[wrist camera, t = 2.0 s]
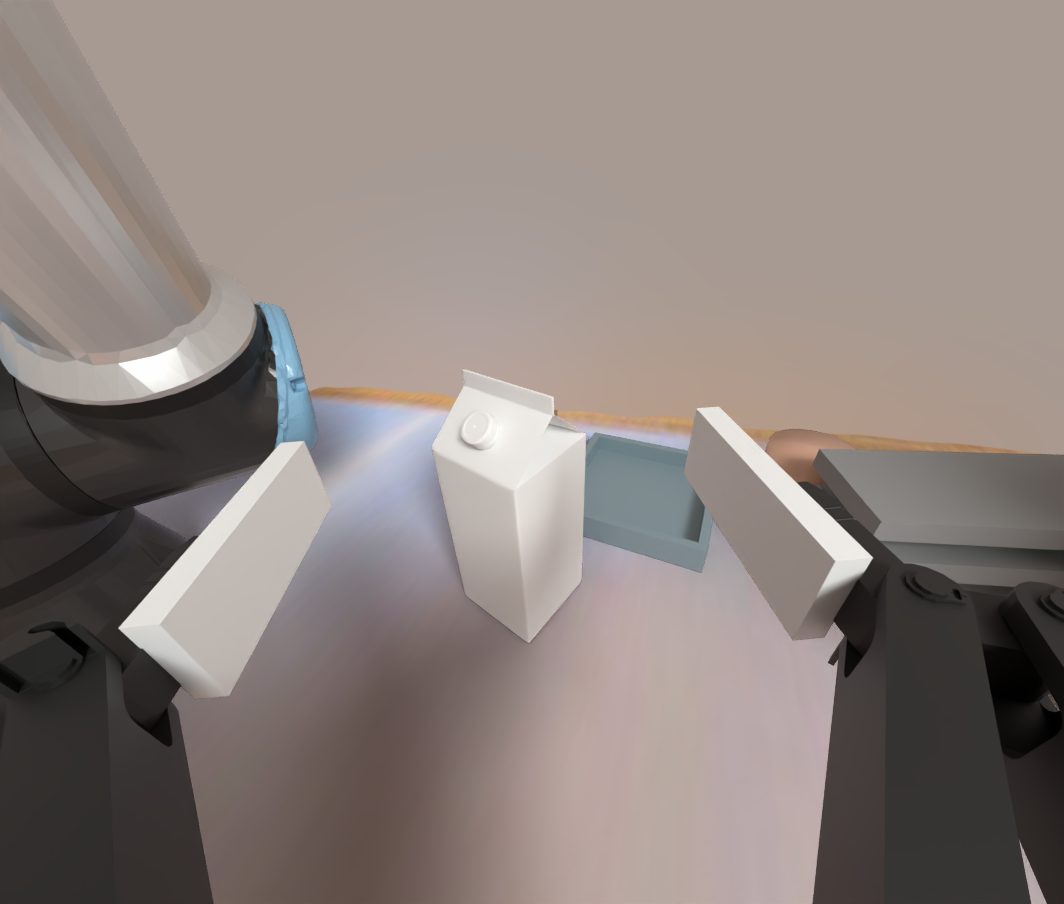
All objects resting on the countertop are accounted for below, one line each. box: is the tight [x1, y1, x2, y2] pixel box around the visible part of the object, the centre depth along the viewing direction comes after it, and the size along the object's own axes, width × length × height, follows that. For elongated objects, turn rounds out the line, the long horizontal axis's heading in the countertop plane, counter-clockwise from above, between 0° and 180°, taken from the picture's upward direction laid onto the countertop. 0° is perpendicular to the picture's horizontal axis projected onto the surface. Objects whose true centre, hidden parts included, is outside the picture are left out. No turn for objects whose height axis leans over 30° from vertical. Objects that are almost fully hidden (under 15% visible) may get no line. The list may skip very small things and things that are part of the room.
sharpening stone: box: [812, 449, 1064, 597], centre depth 28 cm, size 25×8×11 cm, turn 83°
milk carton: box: [432, 370, 586, 643], centre depth 28 cm, size 7×7×19 cm
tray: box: [583, 433, 713, 573], centre depth 42 cm, size 15×15×3 cm
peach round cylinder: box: [765, 429, 857, 487], centre depth 37 cm, size 7×7×8 cm
